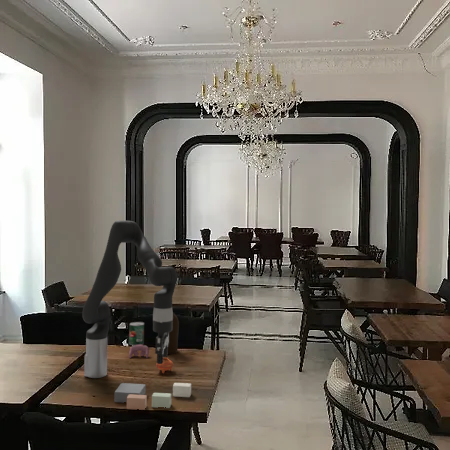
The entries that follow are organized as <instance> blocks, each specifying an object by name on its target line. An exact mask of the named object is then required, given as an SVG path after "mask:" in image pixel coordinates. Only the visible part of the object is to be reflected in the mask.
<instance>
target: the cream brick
mask: <svg viewBox="0 0 450 450" xmlns="http://www.w3.org/2000/svg"><path fill="white" fill-rule="evenodd" d="M191 395H192V383H190V382H189V383H187V382H174V383H173V385H172V397H176V398H177V397H178V398H179V397H180V398H181V397H182V398H191Z"/></svg>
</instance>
